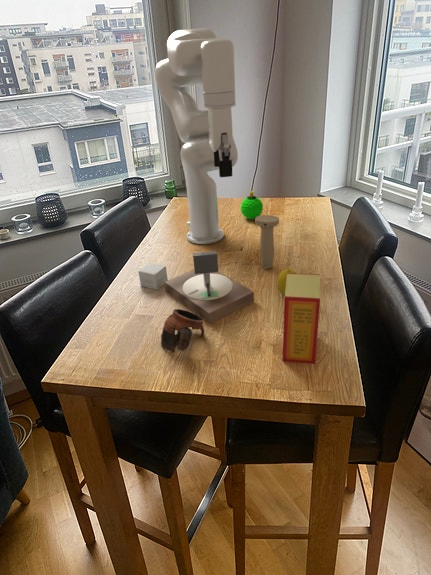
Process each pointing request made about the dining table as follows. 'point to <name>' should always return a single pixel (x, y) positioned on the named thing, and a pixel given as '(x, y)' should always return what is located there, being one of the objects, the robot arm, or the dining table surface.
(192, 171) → the robot arm
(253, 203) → the ornament
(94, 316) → the dining table surface
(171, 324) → the broken clay pot
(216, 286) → the dial
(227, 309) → the board
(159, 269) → the small box
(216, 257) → the grey block with rod
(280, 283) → the lemon
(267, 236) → the handle
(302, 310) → the baking soda box
